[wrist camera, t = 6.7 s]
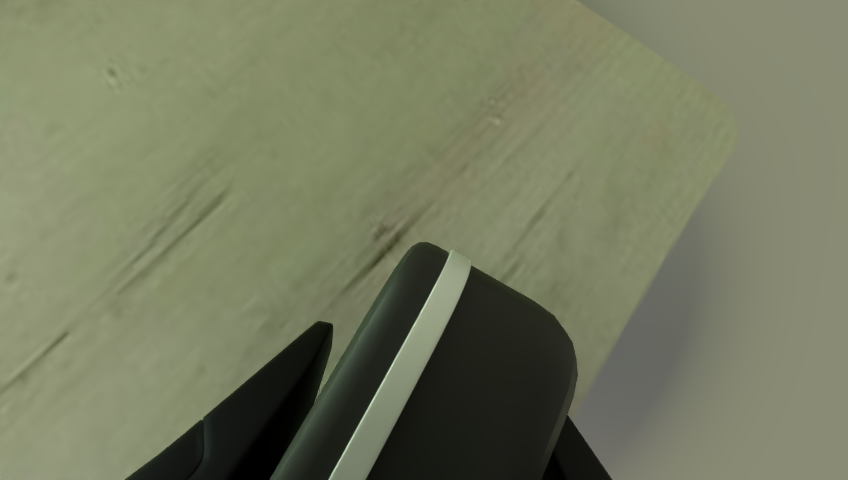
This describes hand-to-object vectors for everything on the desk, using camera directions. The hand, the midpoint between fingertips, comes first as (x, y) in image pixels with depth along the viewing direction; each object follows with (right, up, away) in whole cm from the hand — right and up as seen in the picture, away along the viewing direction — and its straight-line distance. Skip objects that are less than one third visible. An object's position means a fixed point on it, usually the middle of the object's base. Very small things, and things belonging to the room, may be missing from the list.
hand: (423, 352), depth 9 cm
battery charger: (-1, -3, +6) cm, 7 cm away
